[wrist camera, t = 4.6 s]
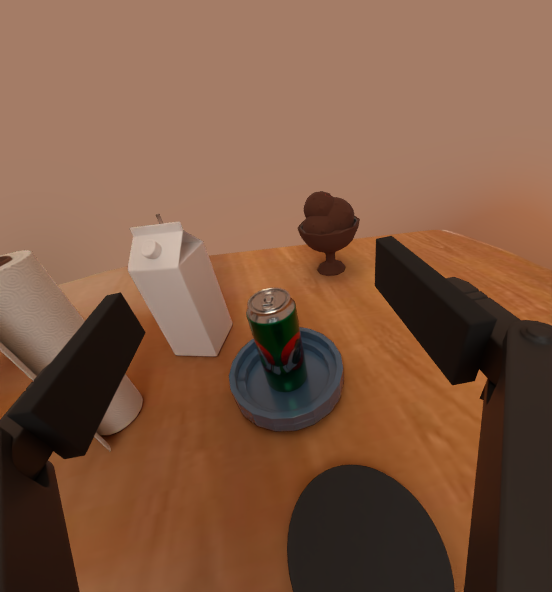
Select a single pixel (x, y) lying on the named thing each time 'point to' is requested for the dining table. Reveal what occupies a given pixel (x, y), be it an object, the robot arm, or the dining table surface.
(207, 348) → the milk carton
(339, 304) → the dining table surface
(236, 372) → the dish
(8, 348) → the paper towel roll
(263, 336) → the soda can
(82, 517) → the dining table surface
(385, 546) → the coaster
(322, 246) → the ice cream bowl
